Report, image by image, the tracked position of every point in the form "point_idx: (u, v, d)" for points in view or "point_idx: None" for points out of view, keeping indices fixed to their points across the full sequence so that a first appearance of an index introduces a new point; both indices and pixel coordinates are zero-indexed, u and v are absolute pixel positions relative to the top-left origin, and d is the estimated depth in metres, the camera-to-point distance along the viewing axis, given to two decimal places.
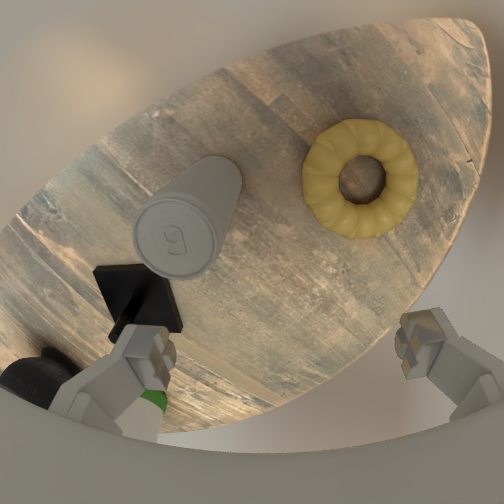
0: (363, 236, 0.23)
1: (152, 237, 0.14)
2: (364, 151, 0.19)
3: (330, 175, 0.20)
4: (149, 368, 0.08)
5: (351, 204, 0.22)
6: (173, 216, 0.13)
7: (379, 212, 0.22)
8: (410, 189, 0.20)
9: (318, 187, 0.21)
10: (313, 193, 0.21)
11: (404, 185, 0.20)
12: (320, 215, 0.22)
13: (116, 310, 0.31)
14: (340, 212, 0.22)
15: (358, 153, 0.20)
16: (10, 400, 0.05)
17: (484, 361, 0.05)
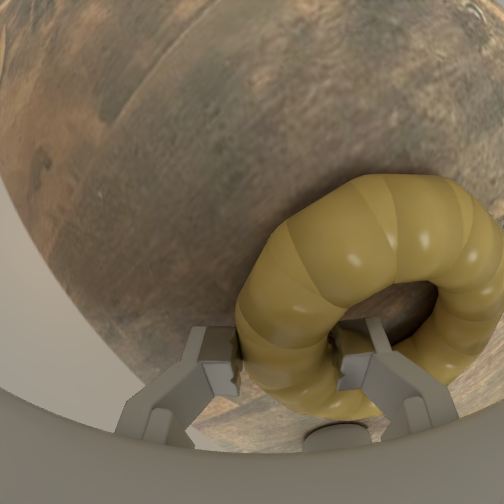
0: (493, 330, 0.07)
1: None
2: (317, 363, 0.08)
3: (358, 408, 0.09)
4: (228, 373, 0.07)
5: (428, 346, 0.09)
6: None
7: (467, 310, 0.07)
8: (443, 245, 0.06)
9: (374, 415, 0.09)
10: None
11: (427, 266, 0.06)
12: None
13: None
14: None
15: (321, 365, 0.09)
16: (10, 400, 0.05)
17: (415, 381, 0.06)
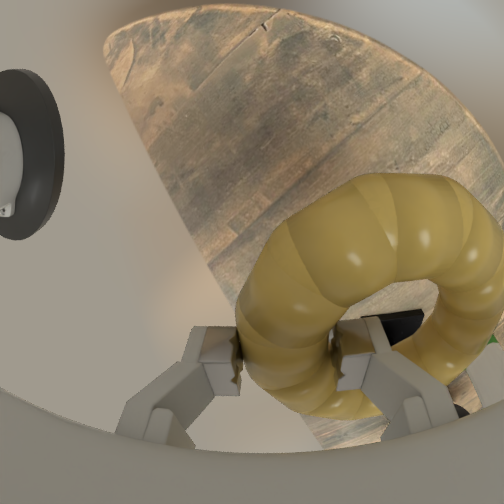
0: (494, 329, 0.07)
1: None
2: (317, 362, 0.08)
3: (359, 407, 0.09)
4: (228, 373, 0.07)
5: (429, 345, 0.09)
6: None
7: (467, 309, 0.07)
8: (443, 244, 0.06)
9: (375, 415, 0.09)
10: (383, 414, 0.10)
11: (427, 265, 0.06)
12: None
13: None
14: None
15: (322, 365, 0.09)
16: (10, 400, 0.05)
17: (415, 381, 0.06)
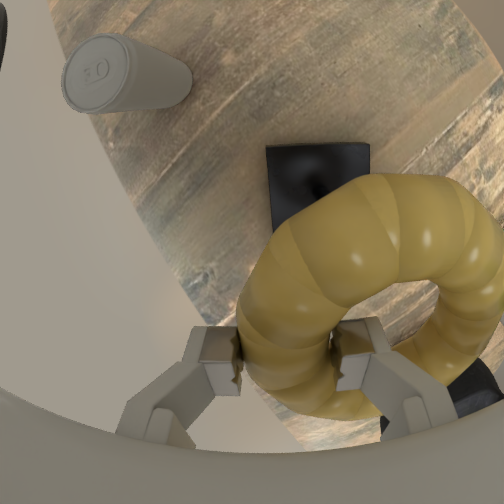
0: (494, 330, 0.07)
1: (90, 92, 0.11)
2: (318, 363, 0.08)
3: (359, 408, 0.09)
4: (229, 373, 0.07)
5: (429, 346, 0.09)
6: (74, 75, 0.10)
7: (468, 310, 0.07)
8: (445, 245, 0.06)
9: (375, 415, 0.09)
10: None
11: (429, 266, 0.06)
12: None
13: None
14: None
15: (323, 365, 0.09)
16: (10, 400, 0.05)
17: (414, 381, 0.06)
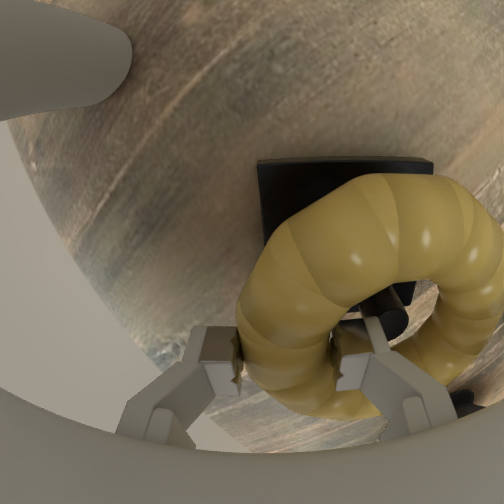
0: None
1: None
2: (318, 363, 0.08)
3: (359, 407, 0.09)
4: (229, 373, 0.07)
5: (429, 346, 0.09)
6: None
7: (468, 309, 0.07)
8: (444, 244, 0.06)
9: (375, 415, 0.09)
10: None
11: (428, 265, 0.06)
12: None
13: None
14: None
15: (322, 365, 0.09)
16: (10, 400, 0.05)
17: (414, 381, 0.06)
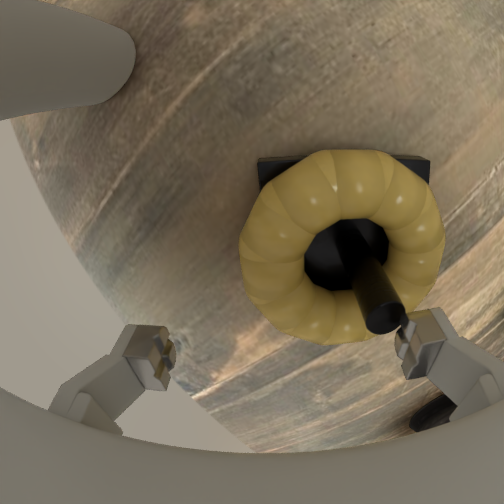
0: (438, 267, 0.12)
1: None
2: (296, 280, 0.12)
3: (333, 328, 0.13)
4: (149, 368, 0.08)
5: None
6: None
7: (406, 244, 0.11)
8: (370, 189, 0.10)
9: (348, 339, 0.14)
10: (356, 341, 0.14)
11: (361, 203, 0.10)
12: None
13: None
14: None
15: (300, 285, 0.13)
16: (10, 400, 0.05)
17: (483, 361, 0.05)
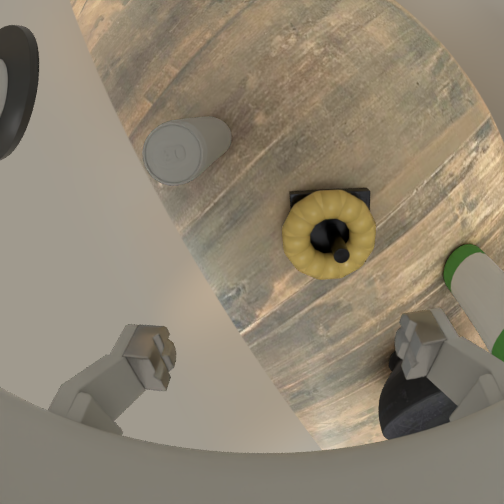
0: (372, 240, 0.28)
1: (170, 169, 0.18)
2: (306, 245, 0.29)
3: (324, 268, 0.30)
4: (149, 368, 0.08)
5: (347, 246, 0.30)
6: (154, 153, 0.18)
7: (354, 229, 0.28)
8: (335, 207, 0.27)
9: (332, 275, 0.31)
10: (336, 277, 0.31)
11: (332, 212, 0.27)
12: (352, 271, 0.30)
13: None
14: (351, 260, 0.29)
15: (308, 247, 0.30)
16: (10, 400, 0.05)
17: (484, 361, 0.05)
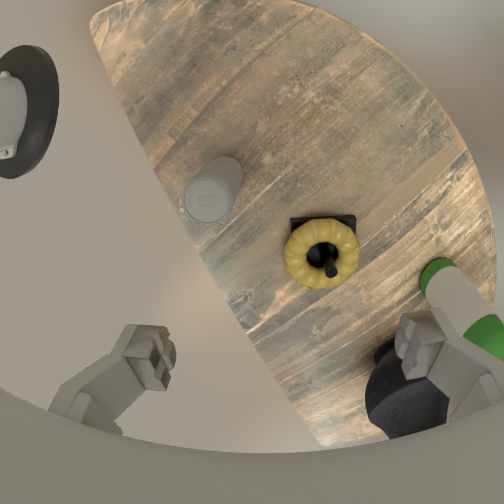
0: (357, 258, 0.36)
1: (204, 213, 0.26)
2: (303, 262, 0.37)
3: (317, 281, 0.38)
4: (149, 368, 0.08)
5: (336, 263, 0.37)
6: (192, 199, 0.25)
7: (342, 250, 0.35)
8: (327, 233, 0.34)
9: (323, 286, 0.38)
10: (327, 287, 0.38)
11: (324, 238, 0.35)
12: (340, 282, 0.38)
13: None
14: (339, 274, 0.37)
15: (305, 264, 0.37)
16: (10, 400, 0.05)
17: (484, 361, 0.05)
